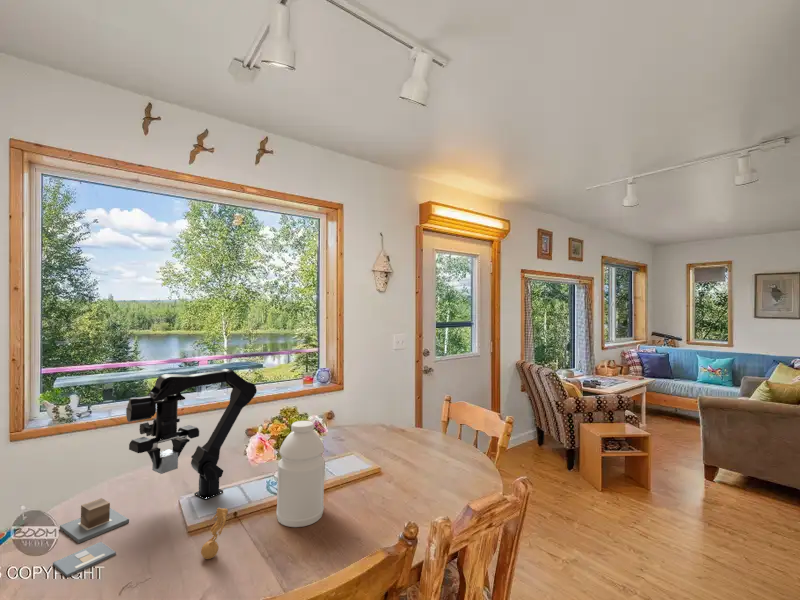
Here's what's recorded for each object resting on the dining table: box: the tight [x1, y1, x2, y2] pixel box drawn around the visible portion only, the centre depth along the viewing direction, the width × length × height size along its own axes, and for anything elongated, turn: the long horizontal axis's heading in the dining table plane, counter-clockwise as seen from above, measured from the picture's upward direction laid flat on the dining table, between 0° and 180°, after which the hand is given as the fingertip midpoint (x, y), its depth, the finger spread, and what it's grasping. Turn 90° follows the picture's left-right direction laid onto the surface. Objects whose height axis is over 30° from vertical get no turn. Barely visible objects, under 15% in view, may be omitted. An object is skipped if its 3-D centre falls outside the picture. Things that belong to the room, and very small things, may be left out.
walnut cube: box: [80, 497, 111, 528], centre depth 113 cm, size 5×5×5 cm
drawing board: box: [52, 541, 117, 578], centre depth 98 cm, size 8×10×1 cm
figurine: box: [200, 507, 229, 560], centre depth 101 cm, size 8×6×12 cm
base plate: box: [59, 507, 130, 544], centre depth 113 cm, size 12×12×1 cm
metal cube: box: [152, 448, 179, 475], centre depth 124 cm, size 5×5×5 cm
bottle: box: [275, 420, 326, 528], centre depth 121 cm, size 14×14×28 cm
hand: (165, 465), depth 124 cm, fingers closed on metal cube, 5 cm apart
